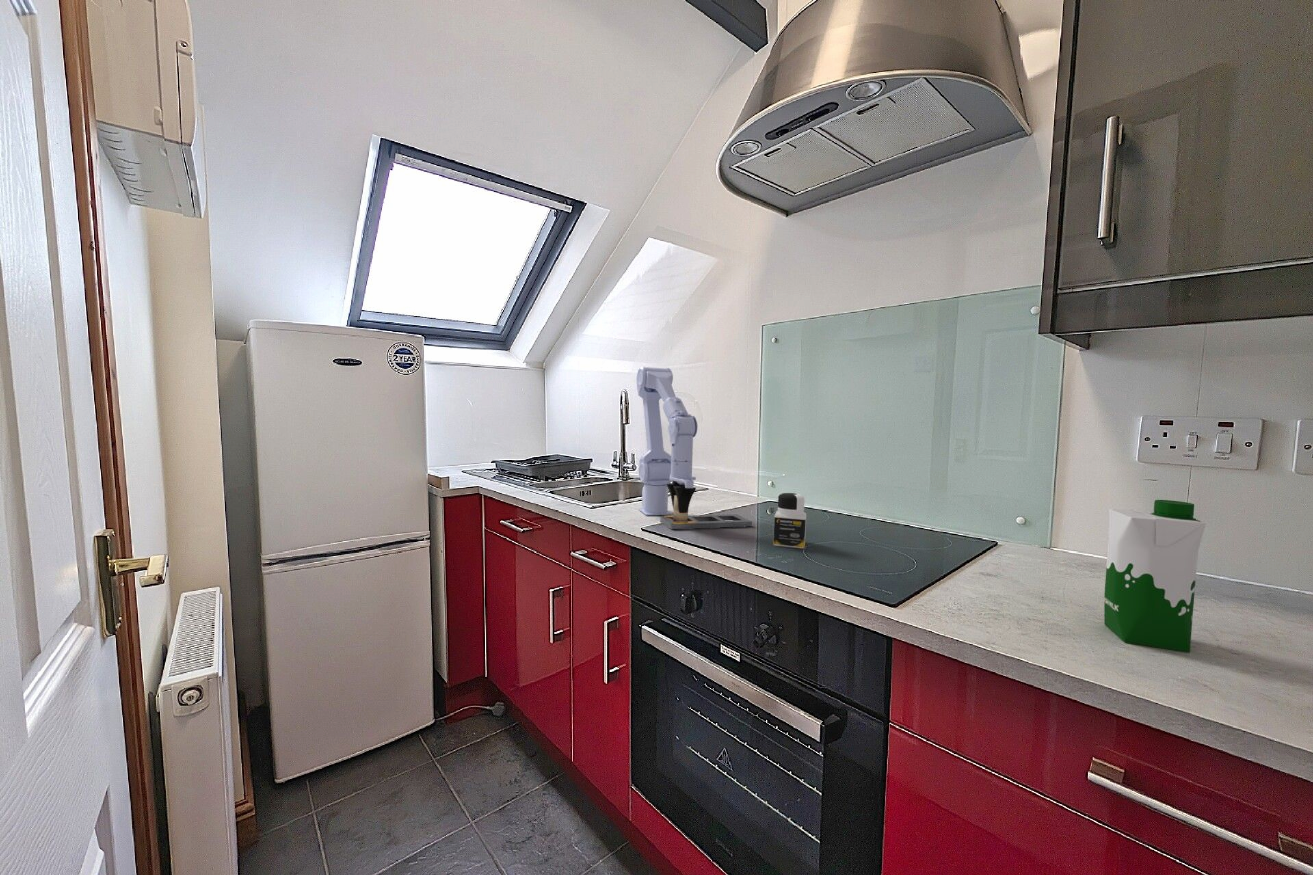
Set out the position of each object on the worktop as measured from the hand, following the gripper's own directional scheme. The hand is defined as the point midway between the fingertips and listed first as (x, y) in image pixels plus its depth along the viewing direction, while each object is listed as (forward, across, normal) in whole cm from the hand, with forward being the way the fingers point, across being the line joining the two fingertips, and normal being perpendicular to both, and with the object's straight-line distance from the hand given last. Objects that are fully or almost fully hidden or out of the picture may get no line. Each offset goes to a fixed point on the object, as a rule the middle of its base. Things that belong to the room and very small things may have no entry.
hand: (680, 510), depth 141 cm
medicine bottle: (+4, -23, -20) cm, 31 cm away
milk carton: (+4, -81, -44) cm, 92 cm away
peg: (+4, 0, 0) cm, 4 cm away
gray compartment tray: (+4, 0, -8) cm, 8 cm away
